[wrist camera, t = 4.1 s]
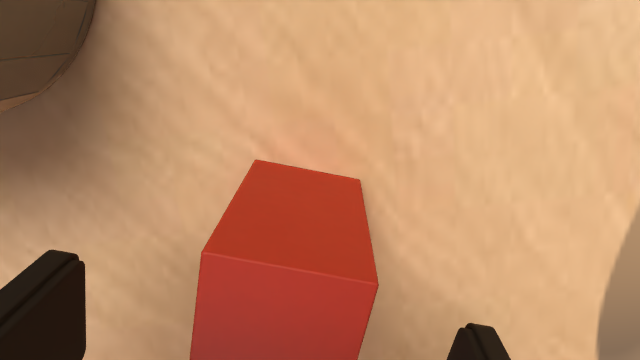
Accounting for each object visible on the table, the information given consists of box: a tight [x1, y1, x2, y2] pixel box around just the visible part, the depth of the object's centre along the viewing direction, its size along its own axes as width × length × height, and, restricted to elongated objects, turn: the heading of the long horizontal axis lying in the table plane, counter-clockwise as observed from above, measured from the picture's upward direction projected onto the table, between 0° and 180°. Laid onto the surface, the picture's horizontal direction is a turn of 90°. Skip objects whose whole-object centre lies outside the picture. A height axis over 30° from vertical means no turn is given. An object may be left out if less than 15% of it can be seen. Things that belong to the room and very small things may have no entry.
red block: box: [190, 160, 379, 360], centre depth 14 cm, size 4×4×8 cm
